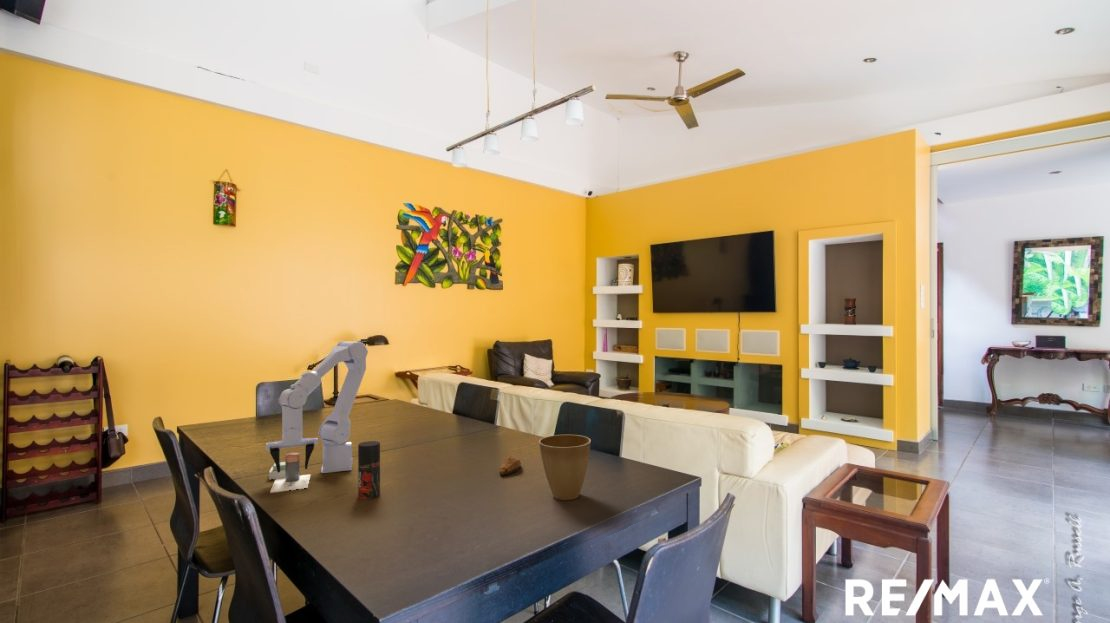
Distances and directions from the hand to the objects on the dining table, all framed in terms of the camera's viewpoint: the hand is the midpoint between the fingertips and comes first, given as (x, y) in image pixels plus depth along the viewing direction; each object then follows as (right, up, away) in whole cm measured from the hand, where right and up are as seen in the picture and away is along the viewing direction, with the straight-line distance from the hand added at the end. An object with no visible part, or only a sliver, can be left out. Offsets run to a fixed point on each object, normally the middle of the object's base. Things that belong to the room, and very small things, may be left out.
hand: (292, 469), depth 159 cm
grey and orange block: (0, -3, 0) cm, 3 cm away
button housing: (-6, -4, +5) cm, 9 cm away
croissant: (+68, -4, +9) cm, 69 cm away
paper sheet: (+1, -3, -3) cm, 5 cm away
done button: (-6, -2, +5) cm, 8 cm away
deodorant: (+29, -3, -14) cm, 33 cm away
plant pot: (+86, -3, -15) cm, 88 cm away
